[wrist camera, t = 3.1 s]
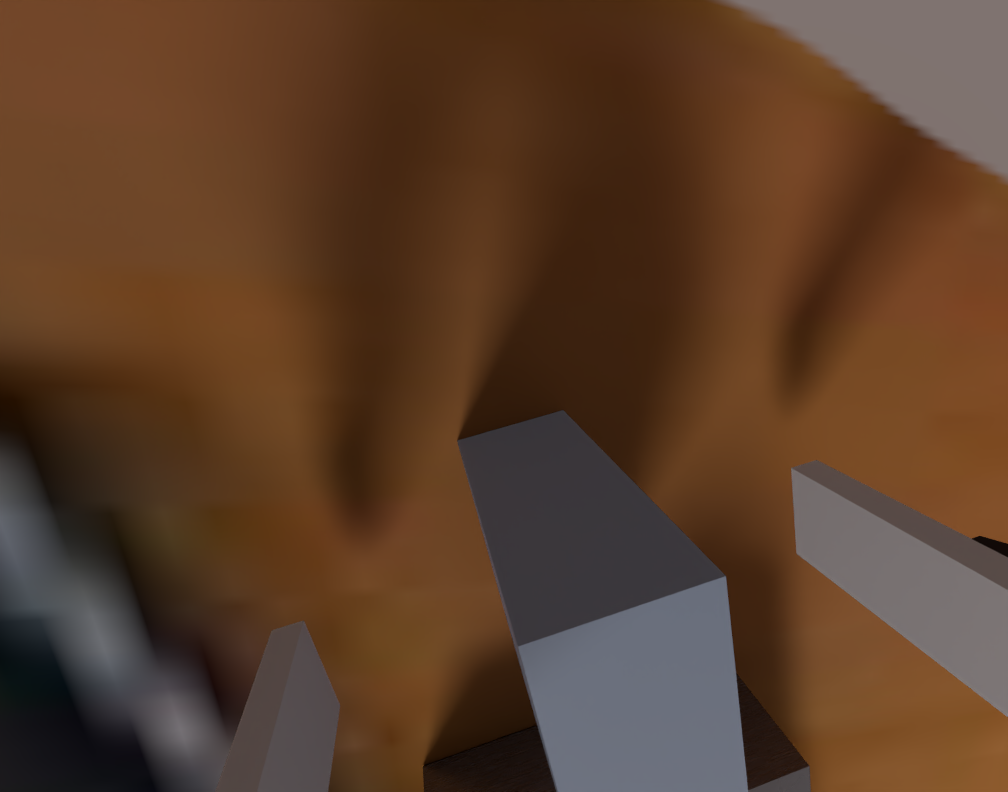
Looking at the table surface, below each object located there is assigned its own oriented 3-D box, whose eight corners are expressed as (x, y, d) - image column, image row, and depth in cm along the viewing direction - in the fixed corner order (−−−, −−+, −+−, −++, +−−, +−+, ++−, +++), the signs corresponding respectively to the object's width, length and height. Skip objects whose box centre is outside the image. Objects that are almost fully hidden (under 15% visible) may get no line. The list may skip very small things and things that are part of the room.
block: (457, 440, 15) (518, 646, 7) (563, 410, 15) (726, 575, 8) (506, 617, 17) (593, 921, 9) (598, 586, 17) (754, 855, 10)
